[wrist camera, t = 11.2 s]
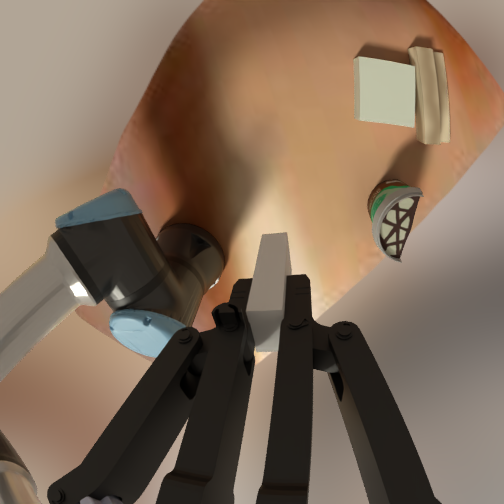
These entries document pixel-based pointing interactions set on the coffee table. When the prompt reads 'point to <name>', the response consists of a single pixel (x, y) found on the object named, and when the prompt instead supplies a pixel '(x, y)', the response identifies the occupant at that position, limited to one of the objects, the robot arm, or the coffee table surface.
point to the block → (384, 91)
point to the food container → (392, 215)
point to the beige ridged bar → (430, 96)
